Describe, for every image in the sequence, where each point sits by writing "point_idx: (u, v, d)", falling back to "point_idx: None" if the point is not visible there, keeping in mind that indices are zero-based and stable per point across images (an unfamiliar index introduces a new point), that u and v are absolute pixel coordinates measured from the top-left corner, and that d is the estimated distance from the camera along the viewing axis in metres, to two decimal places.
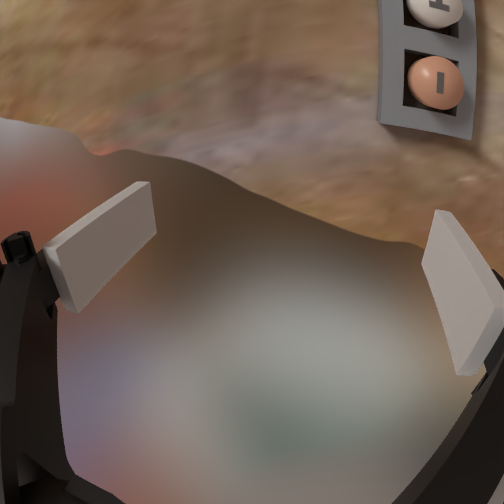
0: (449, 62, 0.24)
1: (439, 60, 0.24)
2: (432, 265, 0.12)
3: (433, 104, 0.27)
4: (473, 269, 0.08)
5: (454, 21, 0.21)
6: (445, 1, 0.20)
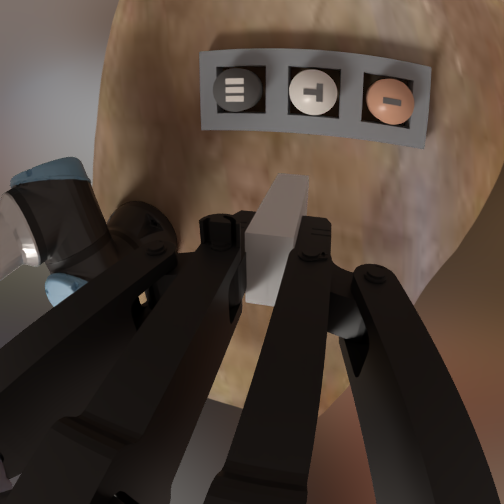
0: (372, 90, 0.33)
1: (372, 99, 0.34)
2: None
3: (411, 109, 0.33)
4: (278, 211, 0.11)
5: (331, 80, 0.34)
6: (312, 85, 0.35)
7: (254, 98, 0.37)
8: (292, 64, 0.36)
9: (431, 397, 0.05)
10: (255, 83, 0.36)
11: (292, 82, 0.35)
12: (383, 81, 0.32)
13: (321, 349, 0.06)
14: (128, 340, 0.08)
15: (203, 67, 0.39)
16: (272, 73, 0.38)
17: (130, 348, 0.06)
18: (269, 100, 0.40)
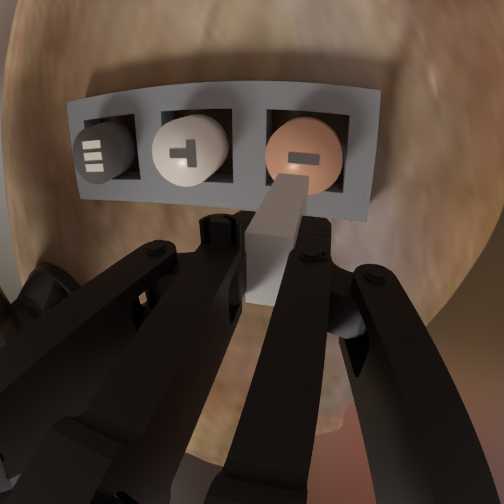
0: (270, 143, 0.23)
1: (271, 158, 0.24)
2: None
3: (337, 169, 0.23)
4: (279, 211, 0.11)
5: (206, 132, 0.24)
6: (181, 143, 0.25)
7: (114, 166, 0.27)
8: (165, 108, 0.27)
9: (431, 397, 0.05)
10: (113, 146, 0.26)
11: (155, 141, 0.25)
12: (288, 126, 0.22)
13: (321, 349, 0.06)
14: (128, 340, 0.08)
15: (72, 122, 0.29)
16: (142, 124, 0.28)
17: (130, 348, 0.06)
18: (143, 162, 0.30)
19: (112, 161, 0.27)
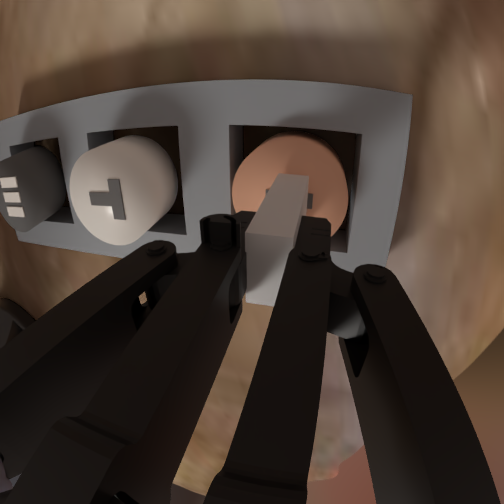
0: (239, 175, 0.16)
1: (240, 197, 0.17)
2: None
3: (339, 215, 0.16)
4: (278, 211, 0.11)
5: (133, 168, 0.15)
6: (103, 185, 0.16)
7: (34, 212, 0.19)
8: (92, 129, 0.18)
9: (431, 397, 0.05)
10: (29, 185, 0.17)
11: (71, 180, 0.16)
12: (265, 150, 0.15)
13: (321, 349, 0.06)
14: (128, 340, 0.08)
15: None
16: (67, 151, 0.19)
17: (130, 348, 0.06)
18: None
19: (31, 205, 0.18)
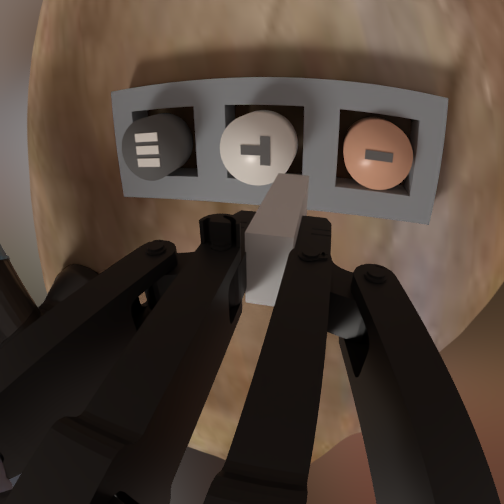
0: (349, 139, 0.24)
1: (349, 154, 0.25)
2: None
3: (407, 167, 0.24)
4: (279, 211, 0.11)
5: (283, 129, 0.23)
6: (254, 140, 0.24)
7: (173, 161, 0.27)
8: (230, 102, 0.26)
9: (431, 397, 0.05)
10: (173, 139, 0.26)
11: (223, 136, 0.24)
12: (366, 125, 0.23)
13: (321, 349, 0.06)
14: (128, 340, 0.08)
15: (117, 113, 0.29)
16: (202, 117, 0.27)
17: (130, 348, 0.06)
18: (201, 158, 0.29)
19: (171, 156, 0.26)
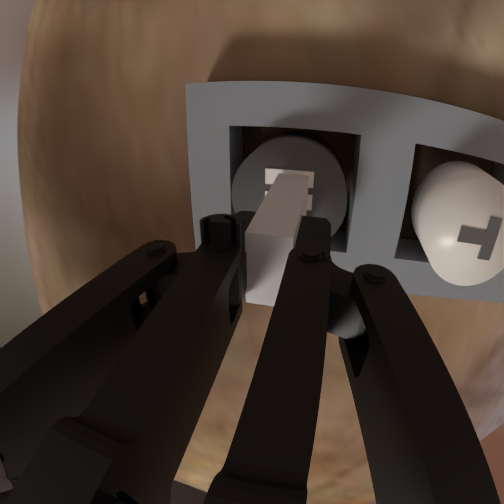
0: None
1: None
2: None
3: None
4: (278, 211, 0.11)
5: None
6: (481, 221, 0.12)
7: (336, 226, 0.16)
8: (425, 141, 0.14)
9: (431, 397, 0.05)
10: (343, 189, 0.15)
11: (440, 208, 0.13)
12: None
13: (321, 349, 0.06)
14: (128, 340, 0.08)
15: (196, 125, 0.17)
16: (374, 158, 0.15)
17: (130, 348, 0.06)
18: (359, 224, 0.17)
19: (334, 216, 0.16)
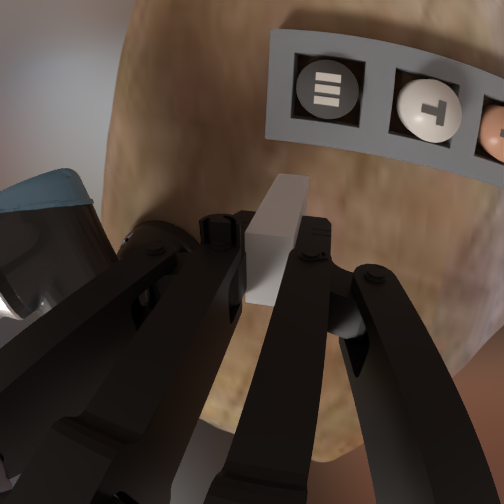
0: (491, 119, 0.23)
1: (490, 130, 0.23)
2: None
3: None
4: (279, 211, 0.11)
5: (457, 99, 0.22)
6: (433, 102, 0.22)
7: (353, 104, 0.27)
8: (401, 66, 0.24)
9: (431, 397, 0.05)
10: (356, 85, 0.26)
11: (408, 92, 0.23)
12: (503, 110, 0.22)
13: (321, 349, 0.06)
14: (128, 340, 0.08)
15: (275, 51, 0.27)
16: (373, 73, 0.25)
17: (130, 348, 0.06)
18: (366, 110, 0.27)
19: (351, 99, 0.26)
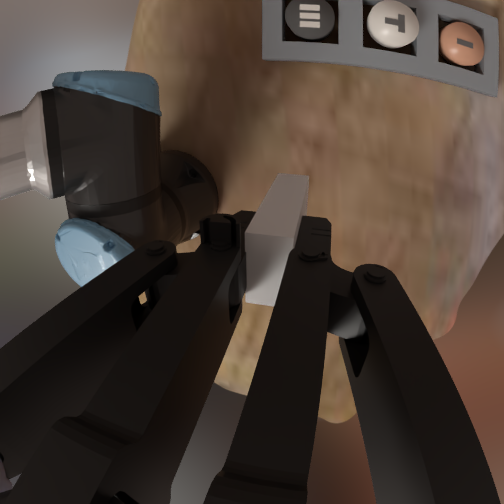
0: (447, 30, 0.25)
1: (447, 39, 0.26)
2: None
3: (482, 53, 0.25)
4: (278, 211, 0.11)
5: (412, 12, 0.24)
6: (394, 16, 0.25)
7: (331, 25, 0.30)
8: None
9: (431, 397, 0.05)
10: (332, 11, 0.29)
11: (372, 10, 0.26)
12: (456, 23, 0.24)
13: (321, 349, 0.06)
14: (128, 340, 0.08)
15: None
16: (345, 4, 0.28)
17: (130, 348, 0.06)
18: (342, 30, 0.30)
19: (329, 21, 0.29)
